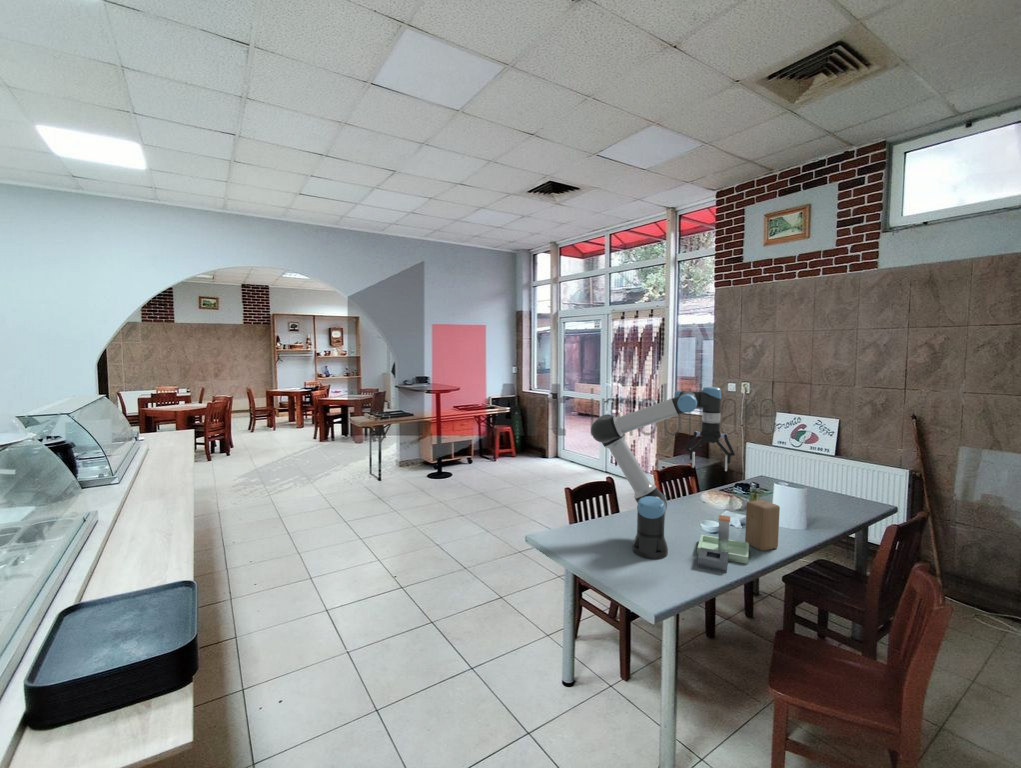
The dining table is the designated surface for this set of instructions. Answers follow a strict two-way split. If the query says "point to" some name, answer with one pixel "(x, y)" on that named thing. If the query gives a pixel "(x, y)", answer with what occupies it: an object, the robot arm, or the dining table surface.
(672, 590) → the dining table surface
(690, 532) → the dining table surface
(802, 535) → the dining table surface
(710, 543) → the tray
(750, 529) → the wooden block
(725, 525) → the pin
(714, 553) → the block
